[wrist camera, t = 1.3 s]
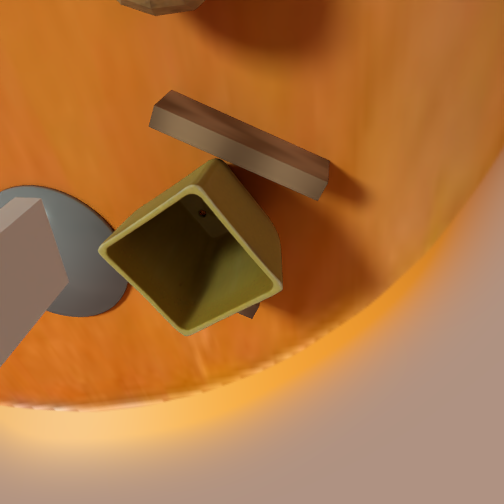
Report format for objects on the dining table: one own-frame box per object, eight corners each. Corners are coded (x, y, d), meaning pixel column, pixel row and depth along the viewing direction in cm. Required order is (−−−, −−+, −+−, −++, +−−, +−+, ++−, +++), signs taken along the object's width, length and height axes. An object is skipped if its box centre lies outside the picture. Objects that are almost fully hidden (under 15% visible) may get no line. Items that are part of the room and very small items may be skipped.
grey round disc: (-22, 279, 46) (-25, 282, 45) (-18, 158, 38) (-21, 160, 37) (112, 333, 47) (111, 336, 47) (145, 226, 39) (143, 229, 39)
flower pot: (298, 218, 36) (286, 291, 29) (213, 265, 40) (183, 340, 33) (228, 126, 33) (194, 181, 26) (143, 186, 37) (93, 249, 29)
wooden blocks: (129, 237, 40) (112, 261, 37) (171, 89, 32) (154, 105, 29) (258, 291, 41) (252, 318, 38) (329, 160, 33) (328, 182, 30)
